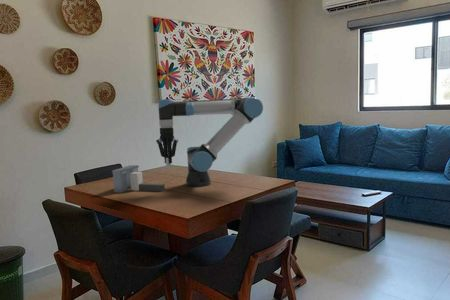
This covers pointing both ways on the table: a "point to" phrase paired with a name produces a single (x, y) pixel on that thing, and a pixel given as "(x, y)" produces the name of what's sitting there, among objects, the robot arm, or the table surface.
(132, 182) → the plug
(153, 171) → the table surface
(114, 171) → the housing
